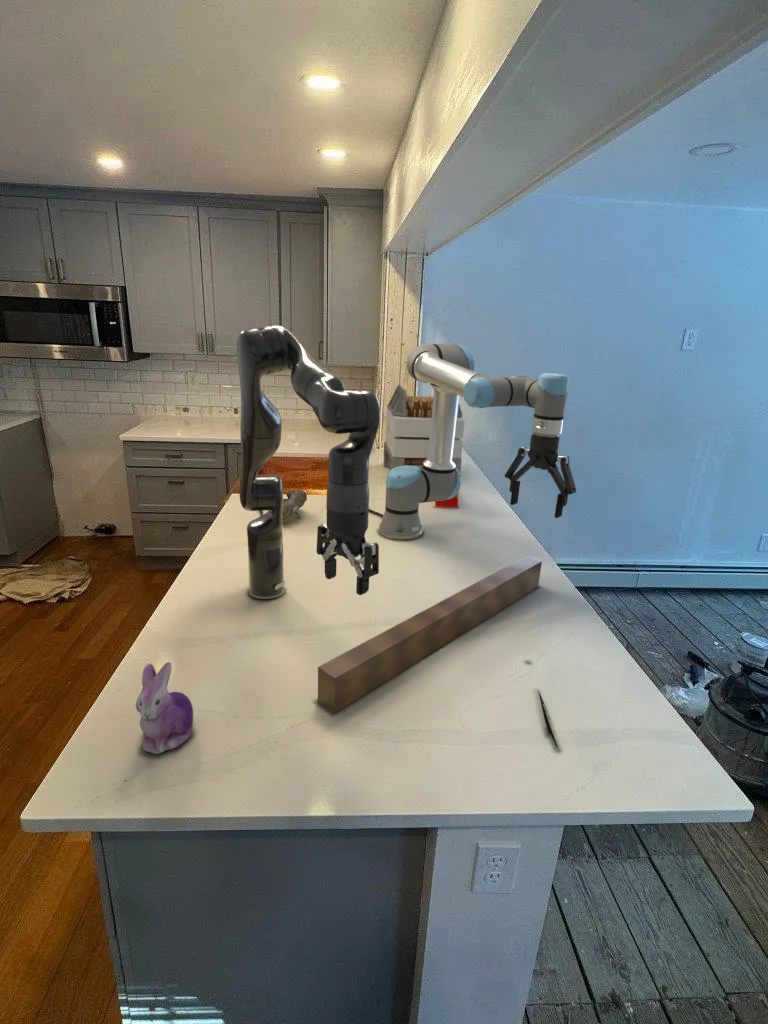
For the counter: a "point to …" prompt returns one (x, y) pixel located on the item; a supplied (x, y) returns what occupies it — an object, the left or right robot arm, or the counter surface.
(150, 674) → the figurine
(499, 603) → the bar
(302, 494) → the fossil
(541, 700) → the feather
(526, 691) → the counter surface
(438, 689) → the counter surface
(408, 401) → the white slatted box
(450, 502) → the toy
